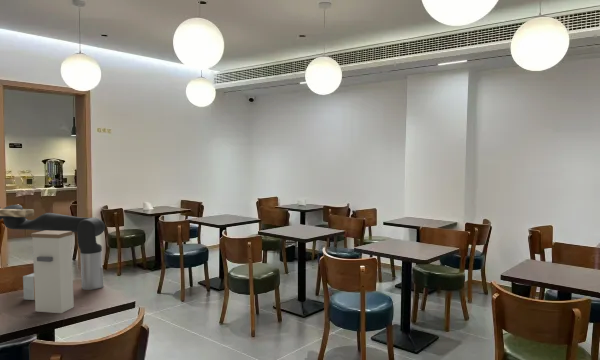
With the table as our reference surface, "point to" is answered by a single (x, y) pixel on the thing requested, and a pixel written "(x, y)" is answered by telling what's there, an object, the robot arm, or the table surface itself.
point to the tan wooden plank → (17, 212)
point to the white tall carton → (53, 271)
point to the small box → (29, 287)
